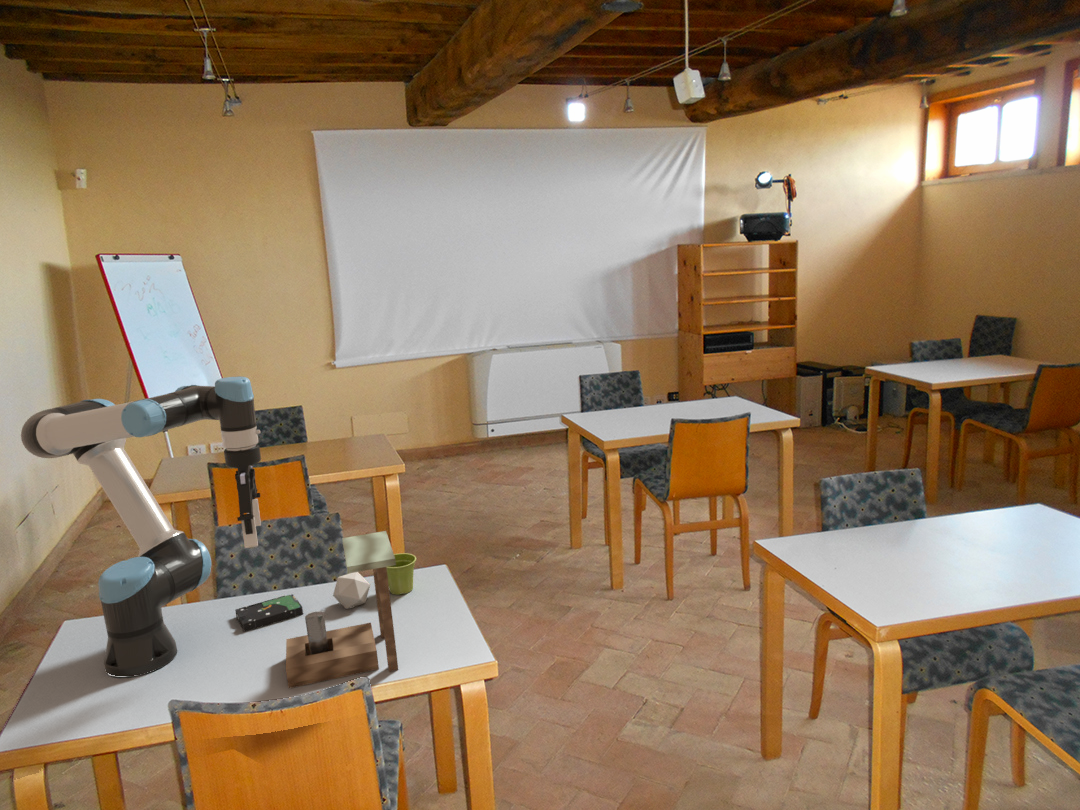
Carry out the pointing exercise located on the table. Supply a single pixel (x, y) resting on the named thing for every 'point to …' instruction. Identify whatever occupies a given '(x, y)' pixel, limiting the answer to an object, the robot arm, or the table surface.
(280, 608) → the disk drive
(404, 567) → the plant pot
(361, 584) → the die
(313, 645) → the peg
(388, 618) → the socket stand
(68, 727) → the table surface
